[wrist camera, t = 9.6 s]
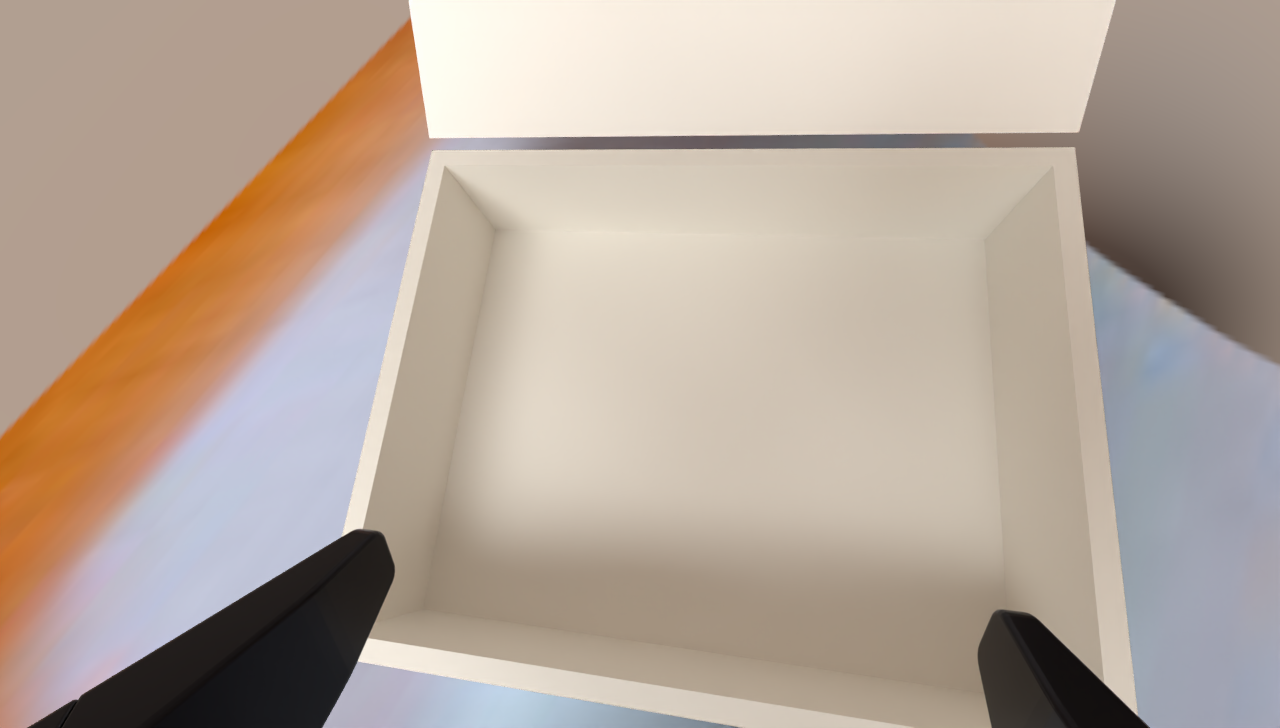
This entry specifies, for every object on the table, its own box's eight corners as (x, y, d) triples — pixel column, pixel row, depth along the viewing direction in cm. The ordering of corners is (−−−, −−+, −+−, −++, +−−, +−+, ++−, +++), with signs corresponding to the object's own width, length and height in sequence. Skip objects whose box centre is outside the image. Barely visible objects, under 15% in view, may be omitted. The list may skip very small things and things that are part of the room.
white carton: (1025, 717, 16) (1146, 797, 12) (413, 621, 20) (314, 654, 15) (994, 233, 21) (1074, 147, 16) (490, 223, 24) (432, 150, 19)
